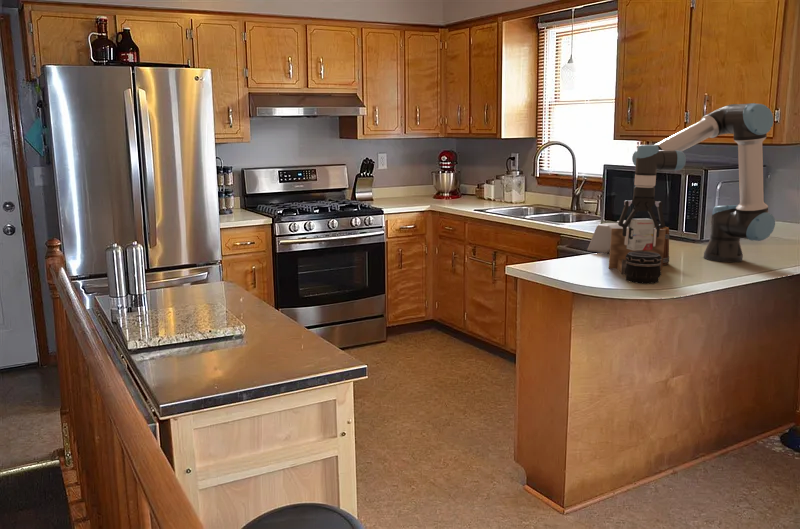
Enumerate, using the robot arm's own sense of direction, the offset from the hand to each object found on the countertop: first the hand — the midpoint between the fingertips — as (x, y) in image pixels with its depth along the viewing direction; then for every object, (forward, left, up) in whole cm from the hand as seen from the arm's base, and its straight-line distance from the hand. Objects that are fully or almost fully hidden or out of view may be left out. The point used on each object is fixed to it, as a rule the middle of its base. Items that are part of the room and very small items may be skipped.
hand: (639, 245), depth 273 cm
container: (+1, +16, -11) cm, 19 cm away
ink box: (0, 0, -2) cm, 2 cm away
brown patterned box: (0, 0, -10) cm, 10 cm away
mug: (-11, -22, -11) cm, 27 cm away
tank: (-1, -49, -11) cm, 50 cm away
